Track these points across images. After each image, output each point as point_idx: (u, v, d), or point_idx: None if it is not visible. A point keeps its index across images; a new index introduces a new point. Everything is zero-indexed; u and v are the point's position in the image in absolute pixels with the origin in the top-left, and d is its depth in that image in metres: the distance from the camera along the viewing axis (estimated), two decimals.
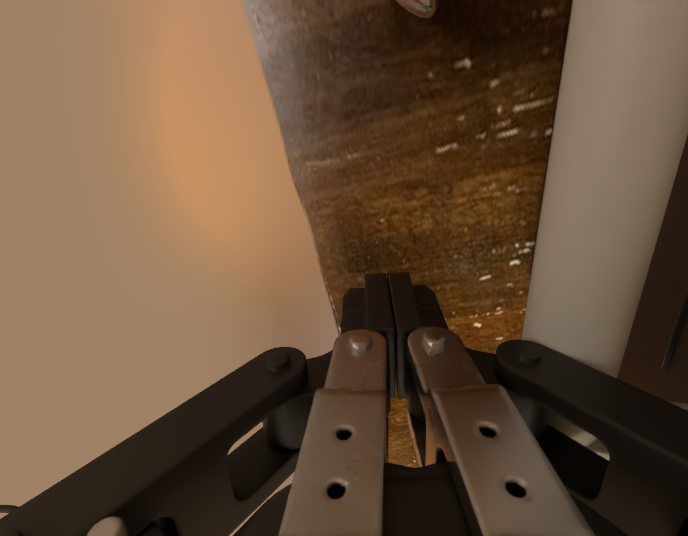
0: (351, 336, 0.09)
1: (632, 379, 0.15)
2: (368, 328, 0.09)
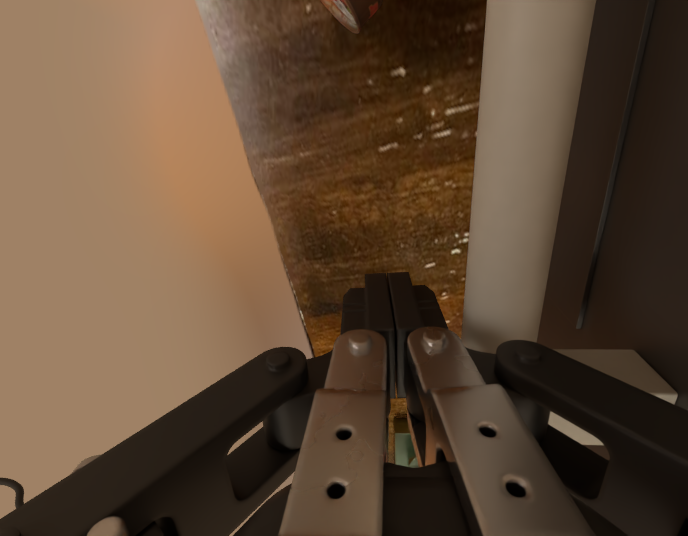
0: (351, 336, 0.09)
1: (556, 342, 0.17)
2: (368, 328, 0.09)
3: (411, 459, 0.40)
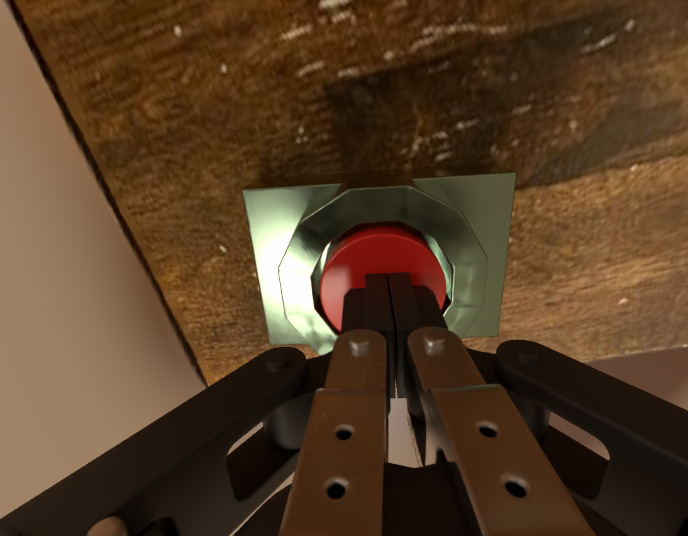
0: (351, 336, 0.09)
1: None
2: (368, 328, 0.09)
3: (283, 254, 0.13)
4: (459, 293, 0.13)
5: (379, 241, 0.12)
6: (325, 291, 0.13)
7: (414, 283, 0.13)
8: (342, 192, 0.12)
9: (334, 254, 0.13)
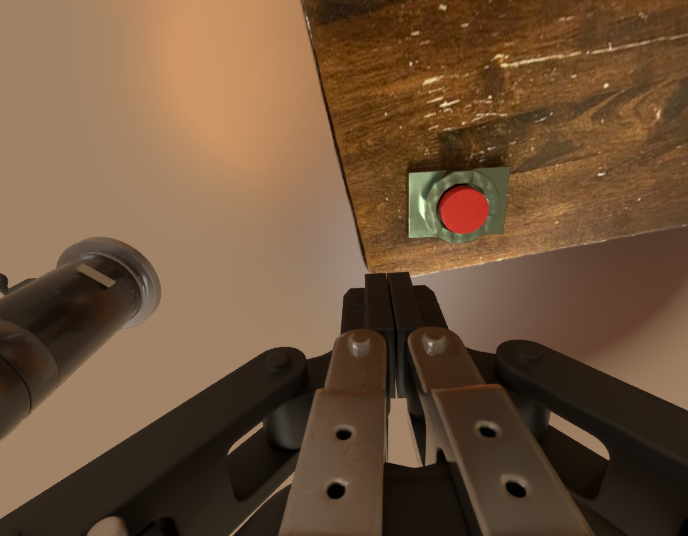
0: (351, 336, 0.09)
1: None
2: (368, 328, 0.09)
3: (427, 195, 0.37)
4: (489, 210, 0.37)
5: (466, 191, 0.35)
6: (444, 211, 0.36)
7: (477, 208, 0.35)
8: (451, 172, 0.36)
9: (449, 197, 0.35)
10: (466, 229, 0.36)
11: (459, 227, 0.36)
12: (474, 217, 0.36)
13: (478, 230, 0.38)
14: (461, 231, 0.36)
